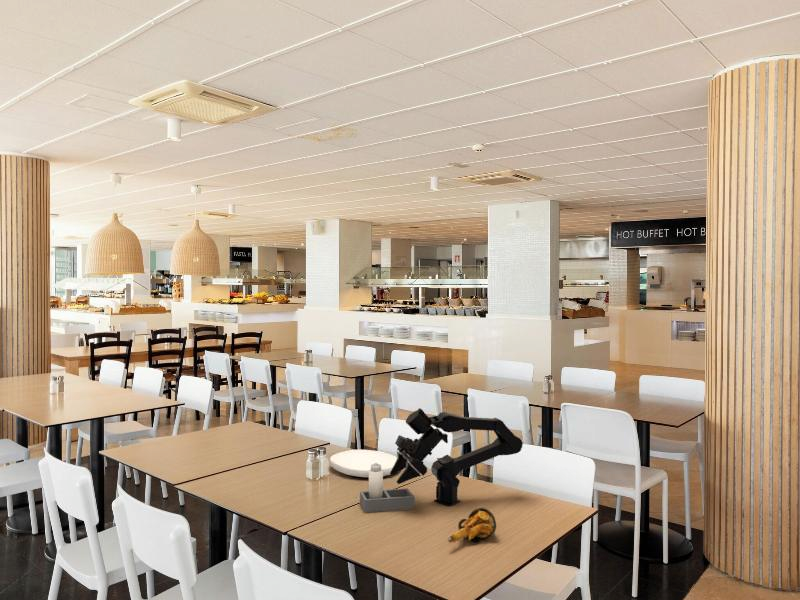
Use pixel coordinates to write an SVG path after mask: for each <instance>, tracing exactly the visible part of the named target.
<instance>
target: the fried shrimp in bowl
mask: <svg viewBox="0 0 800 600" xmlns="http://www.w3.org/2000/svg"><path fill="white" fill-rule="evenodd" d="M457 525H458V526H457V527H458V530H457V531H454V532H453V533H452V534H451V535H450V536H449V537H448V538H447V540H448V543H449V544H450V543H456V542H458V541H460V540H461V539H464V541H466V542H467V543H470V544H473V545H474V544H475V545H476V544H479V543H481V542H484V541H485V542H486V541H488V540H490V539H491V538H492V537H493V536H494V534H495V532H496V529H497V521H496V518H495V516H494V514H493V512H491V510H489V509H487V508H485V507H478V508H475V509H473V510H472V511H471V512H470V513H469V515H468V517H467V518H462V519H461V520H459V521H458V524H457Z"/></svg>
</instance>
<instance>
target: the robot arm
mask: <svg viewBox="0 0 800 600" xmlns="http://www.w3.org/2000/svg"><path fill="white" fill-rule="evenodd" d="M405 424H406V425H408V427H410V429H411V430H412V431H414V433H416V434H417V435H421V436H420V437H419V438H414V439H412V438H410V437H405V436H403V435H401V434H400V435H399V434H398V436H397V438H396V441H395V442H394V445H396V446H397V448H396V450H397V451H396V457H397V460H396V462H395V464H394V466H393V468H392V470H391V472H390V474H391V476H395V475H396V474H397V473H399V472H401V471H402V473H401V474H400V476H399V477H398V479H397V481H396V483H397V485H400V484H402V483H406V482H407V481H410V480H413V479H416V478H417V477H421V476H425V475H426V474H427V473H428V467H427V466H426V465H425V464H424V463H425V462H424V460H425V459H426V458H427V456H428V455H429V456H431V455H432V454H433V452H432V451H433V450H434V449H435V448H436V447H437V445H438V444H439V443H440V442H441V441H443V442H444V443H445V444H448V443H449V441H448V440H449V439H448V435H449V434H447V433H454V432H455V433H456V432H460V431H463V430H469V431H470V430H473V431H490V432H491V431H493V432H494V434H495V435H496V438H495V440H494V441H493V442H492V443H490V444H487V445H484V446H482V447H479V448H477V449H475V450H472V451H470V452H467V453H465V454H462V455H460V456H457V457H452V456H450V455H449V454H445V455H444V456H442V457H437V458H436V460H434V461H433V463H432V465H431V468H430V469H431V473H432V475H433V476H434V477H435V478H436V481H437V483H436V486H435V494H436V495H435V499H434V500H433V502H434V503H438V504H441V505H444V506H448V507H449V506H453V505H455V504H457V503H459V502H460V501H461V499H459V498H458V489H459V488H458V487H459V485H460V482H461V481H460V479H458V477H457V476H458V475H459V474H460V473H461V472H462V471H464V470H467V469H469V468H472V467H474V466H477V465H478V464H481V463H484V462H487V461H489V460H491V459H494V458H496V457H499V456H510V455H516V454H519V453H520V452H521V451H522V449H523V445H524V444H523V441H522V439H521V438H520V437H518V436H517V435H515V434H514V433H513V432H512V430H511V429H509V427H508V426H507V425H506V424H505V422H504V421H503V420H501V419H499V418H497V417H491V418H489V417H488V418H487V417H474V416H473V417H472V416H471V417H469V416H462V415H458V414H454V413H452V412H451V413H450V412H447V411H446V412H445V411H441V412H439V413H438V414H437V415H433V416H428V415H427V414H426V413H425V411H424V410H423V409H422V408H420V407H419V408H418V409H417V410H415V411H412V413H410V414H409V415H408V416H407V417H406V419H405ZM435 427H436V428H435ZM442 431H443V432H444V433H443V432H442Z"/></svg>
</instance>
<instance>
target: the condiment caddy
mask: <svg viewBox="0 0 800 600" xmlns="http://www.w3.org/2000/svg"><path fill="white" fill-rule="evenodd" d="M415 498H416V497H415V495H414V494H413V493H412V492H411V490H410V489H409V488H408V487H406V488H393V489H383V498H377V499H369V490H365V491H364V490H363V491H359V505H360V507H361V506H362V507H361V509H362V511H363V512H364V514H365V513H367V512H368V513H378V512H379V513H380V512H393V511H404V510H405V511H406V509H408V510H415V504H416V503H415V502H416V501H415Z"/></svg>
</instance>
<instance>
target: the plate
mask: <svg viewBox="0 0 800 600" xmlns="http://www.w3.org/2000/svg"><path fill="white" fill-rule="evenodd" d="M396 460H397V455H396V456H395V455H394V454H390V453H388V452H383V451H379V450H371V449H351V450H344V451H341V452H337V453H335V454H333V455H331V456H330V458H329V465H330V468H333V469H334V470H336V471H337V472H339V473H342V474H344V475H346V476H347V475H348V476H352V477H359V478H369V470H370V469H371V465H372V464H374V463H378V464H380V465H381V469H382V470H383V477H386V476H390V475H391V474H390V472H391V470H392V468H393V466H394V464H395V462H396ZM391 476H392V475H391Z"/></svg>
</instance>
